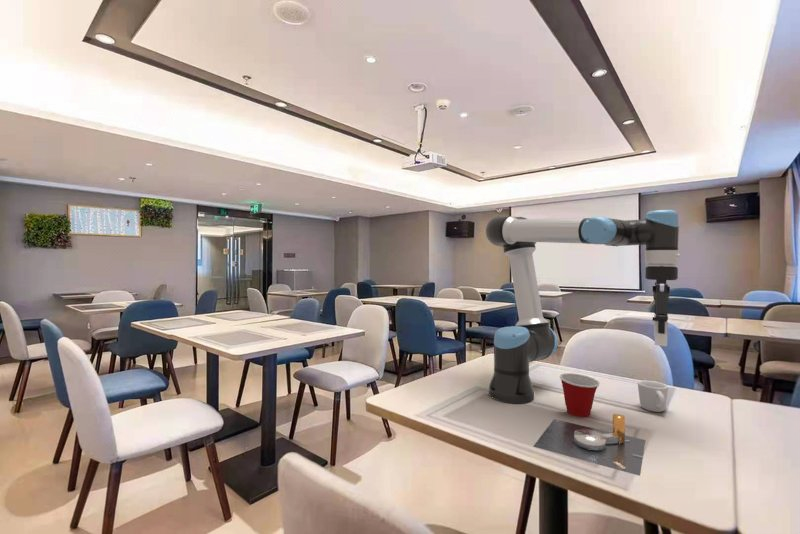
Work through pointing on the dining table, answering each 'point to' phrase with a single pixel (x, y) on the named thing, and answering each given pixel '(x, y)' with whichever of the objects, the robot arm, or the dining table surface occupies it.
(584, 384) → the plastic cup
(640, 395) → the cup
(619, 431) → the metal measuring spoon
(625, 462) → the panel
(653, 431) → the dining table surface
